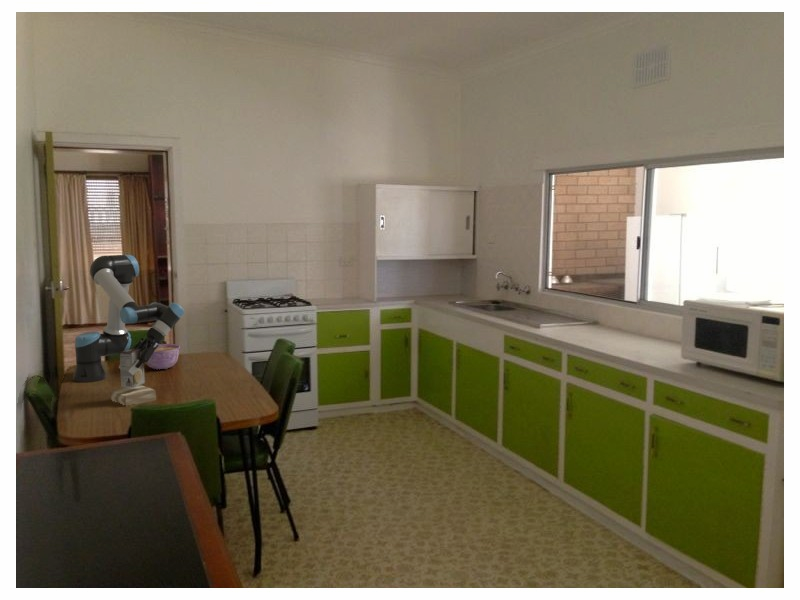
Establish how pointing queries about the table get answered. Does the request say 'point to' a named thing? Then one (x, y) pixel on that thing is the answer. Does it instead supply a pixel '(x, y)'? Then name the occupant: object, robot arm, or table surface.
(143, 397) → the birch block
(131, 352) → the coffee box
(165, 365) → the bowl of food
